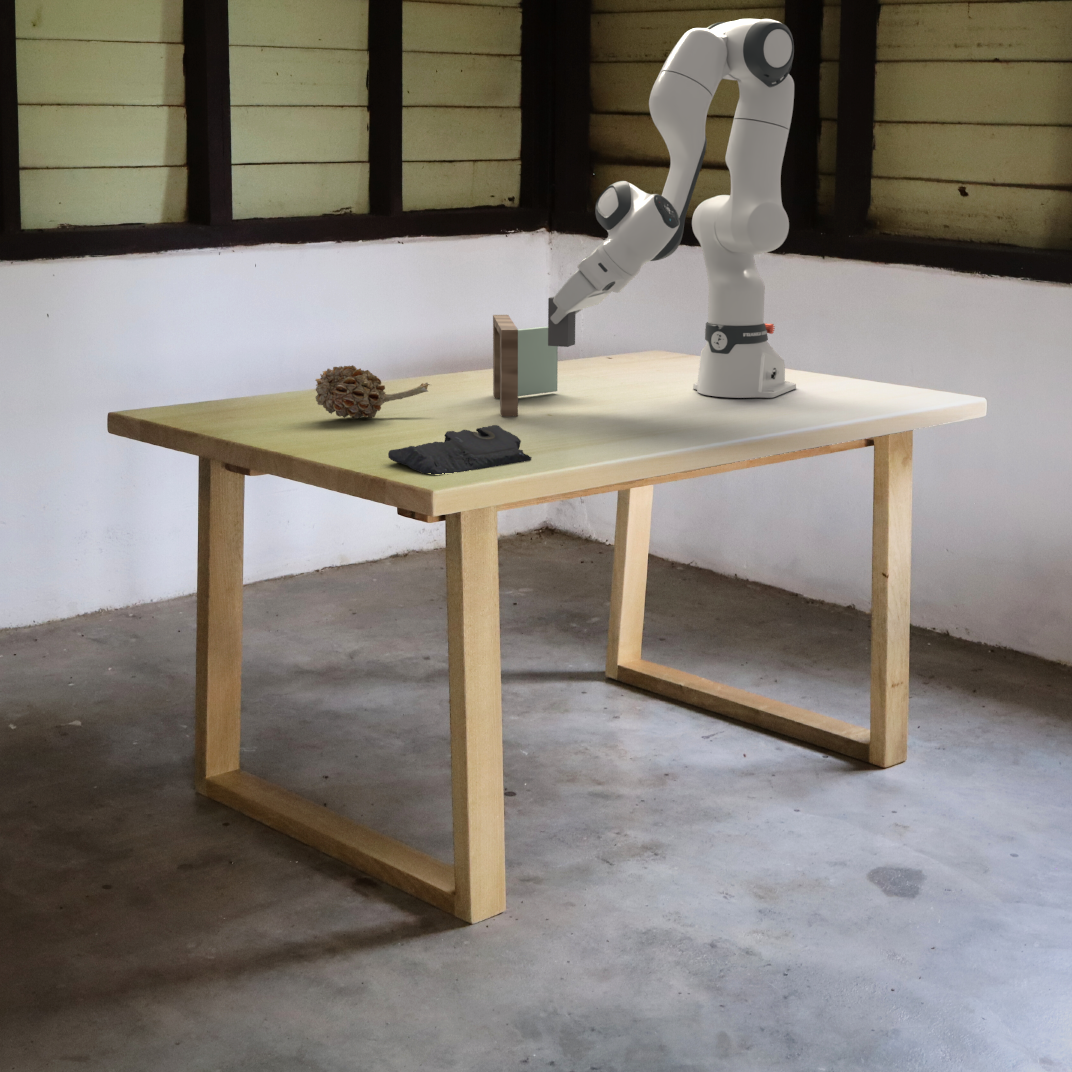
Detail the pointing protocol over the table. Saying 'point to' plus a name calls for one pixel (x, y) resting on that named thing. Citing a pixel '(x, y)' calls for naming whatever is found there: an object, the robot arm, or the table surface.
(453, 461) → the dark slate chunk
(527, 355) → the door
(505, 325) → the door frame
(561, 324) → the gray rectangular block
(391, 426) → the table surface
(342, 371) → the dried seed pod
